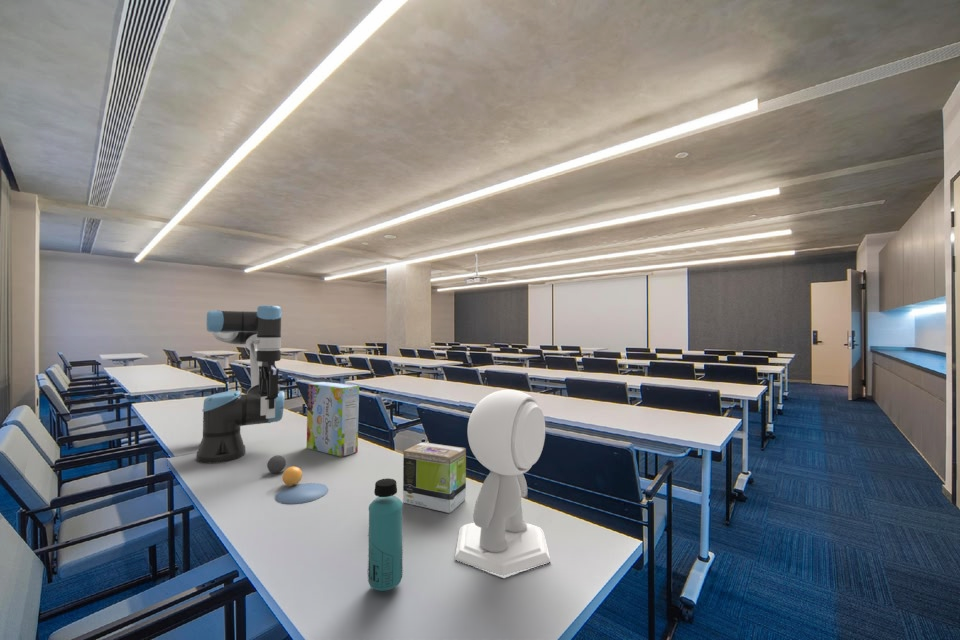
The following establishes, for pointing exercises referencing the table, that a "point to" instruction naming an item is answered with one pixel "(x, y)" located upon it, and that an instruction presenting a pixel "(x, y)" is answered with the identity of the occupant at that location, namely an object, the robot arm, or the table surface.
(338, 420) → the snack box
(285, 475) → the object ball
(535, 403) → the white cartoon figure
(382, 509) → the beverage bottle
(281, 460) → the dark gray ball
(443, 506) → the tea box
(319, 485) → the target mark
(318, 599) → the table surface
